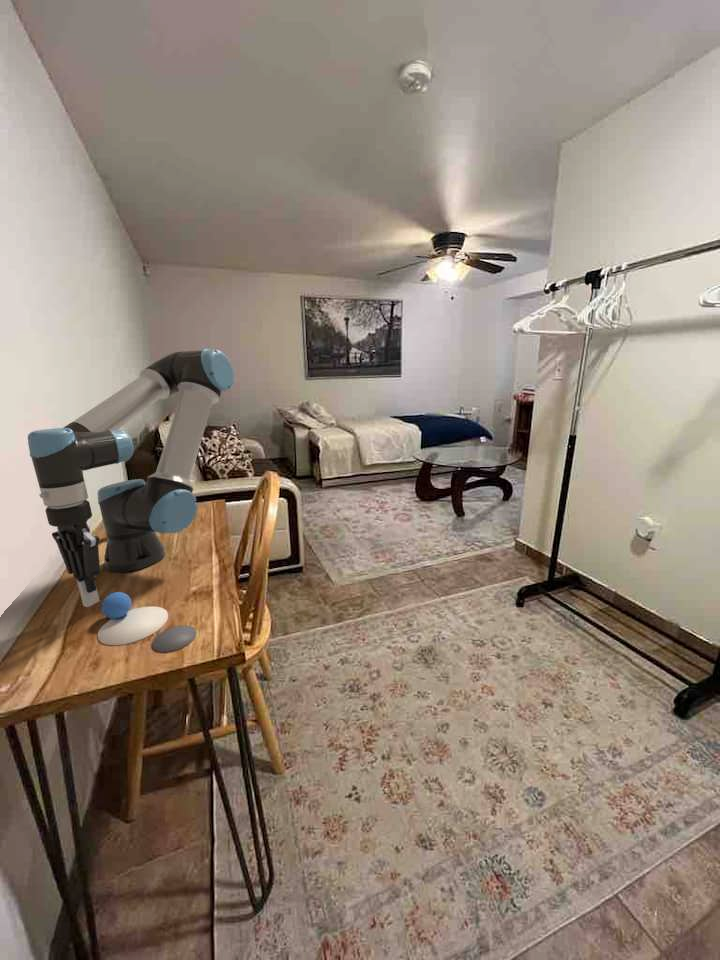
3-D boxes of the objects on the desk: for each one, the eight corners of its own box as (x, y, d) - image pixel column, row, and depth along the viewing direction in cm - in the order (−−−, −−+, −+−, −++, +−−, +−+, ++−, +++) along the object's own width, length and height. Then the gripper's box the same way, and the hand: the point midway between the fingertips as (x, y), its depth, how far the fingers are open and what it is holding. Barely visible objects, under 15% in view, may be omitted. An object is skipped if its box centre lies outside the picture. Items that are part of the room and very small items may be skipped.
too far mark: (163, 627, 81) (163, 626, 81) (202, 625, 81) (202, 624, 81) (144, 653, 73) (143, 652, 73) (187, 651, 74) (186, 650, 74)
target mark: (120, 608, 88) (120, 608, 88) (178, 605, 89) (178, 604, 89) (82, 647, 76) (82, 646, 76) (150, 643, 76) (150, 642, 76)
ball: (133, 589, 85) (137, 614, 85) (123, 587, 89) (126, 611, 89) (105, 598, 81) (109, 624, 81) (95, 595, 84) (99, 620, 84)
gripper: (29, 505, 81) (56, 606, 87) (66, 512, 76) (92, 619, 82) (68, 495, 88) (90, 589, 94) (104, 501, 82) (126, 600, 88)
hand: (91, 603), depth 88 cm, fingers closed
